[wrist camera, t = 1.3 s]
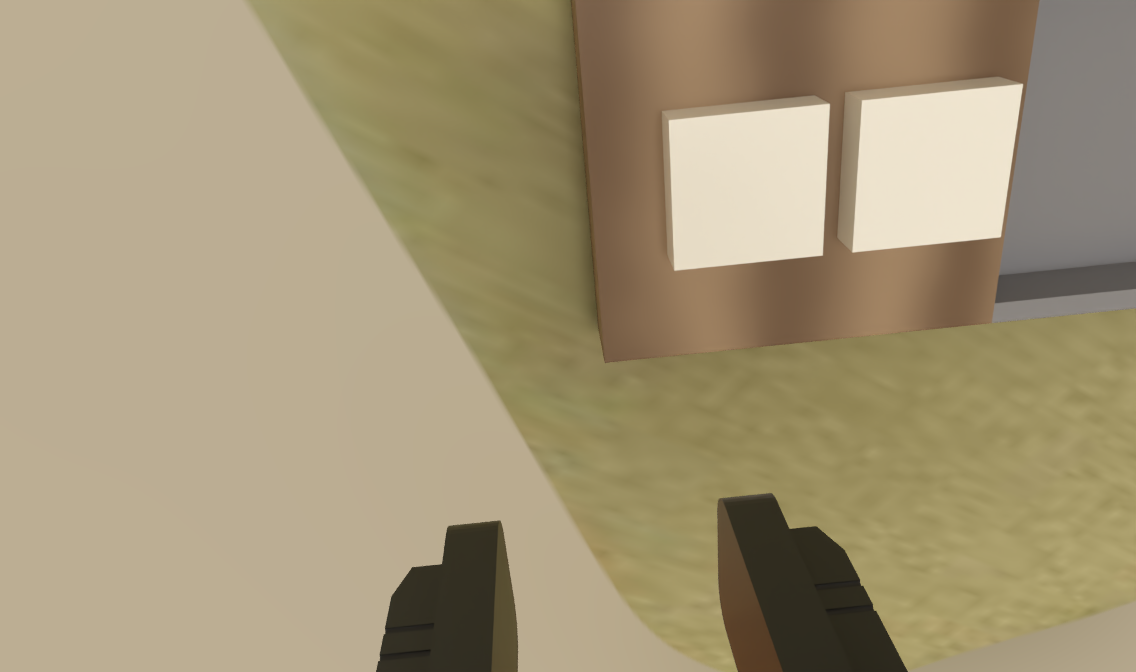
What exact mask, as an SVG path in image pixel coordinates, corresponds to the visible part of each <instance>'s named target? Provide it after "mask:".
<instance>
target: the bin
mask: <svg viewBox="0 0 1136 672" xmlns="http://www.w3.org/2000/svg"><path fill="white" fill-rule="evenodd" d="M1133 308H1136V0H1040V1H1039V8H1038V14H1037V21H1036V28H1035V35H1034V41H1033V48H1032V55H1031V62H1030V68H1029V75H1028V82H1027V89H1026V95H1025V102H1024V109H1023V116H1022V122H1021V129H1020V136H1019V143H1018V149H1017V156H1016V163H1015V170H1014V176H1013V183H1012V190H1011V197H1010V203H1009V210H1008V217H1007V224H1006V230H1005V237H1004V244H1003V251H1002V257H1001V264H1000V271H999V278H998V284H997V291H996V298H995V305H994V311H993V318H992V323H997V322H1006V321H1016V320H1026V319H1036V318H1045V317H1055V316H1065V315H1075V314H1084V313H1094V312H1104V311H1114V310H1123V309H1133Z"/></svg>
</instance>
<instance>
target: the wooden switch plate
mask: <svg viewBox="0 0 1136 672" xmlns="http://www.w3.org/2000/svg"><path fill="white" fill-rule="evenodd" d="M1039 1H1040V0H571V6H572V18H573V30H574V42H575V54H576V66H577V78H578V90H579V101H580V113H581V125H582V137H583V149H584V161H585V173H586V185H587V197H588V209H589V221H590V233H591V245H592V257H593V269H594V281H595V293H596V305H597V317H598V329H599V334H600V340H601V345H602V350H603V356H604V361H605V363H607V362H617V361H627V360H636V359H646V358H656V357H665V356H675V355H685V354H695V353H704V352H714V351H724V350H734V349H743V348H753V347H763V346H773V345H782V344H792V343H802V342H812V341H821V340H831V339H841V338H851V337H860V336H870V335H880V334H889V333H899V332H909V331H919V330H928V329H938V328H948V327H958V326H967V325H977V324H987V323H992V318H993V311H994V305H995V298H996V291H997V284H998V278H999V271H1000V264H1001V257H1002V251H1003V244H1004V237H1005V230H1006V224H1007V217H1008V210H1009V203H1010V197H1011V190H1012V183H1013V176H1014V170H1015V163H1016V156H1017V149H1018V143H1019V136H1020V129H1021V122H1022V116H1023V109H1024V102H1025V95H1026V89H1027V82H1028V75H1029V68H1030V62H1031V55H1032V48H1033V41H1034V35H1035V28H1036V21H1037V14H1038V8H1039ZM989 77H1001V78H1005V79H1008V80H1011V81H1015V82H1018V83H1022V84H1023V88H1022V95H1021V102H1020V109H1019V116H1018V123H1017V129H1016V136H1015V143H1014V150H1013V157H1012V164H1011V171H1010V177H1009V184H1008V191H1007V198H1006V205H1005V212H1004V219H1003V225H1002V232H1001V237H999V238H989V239H980V240H970V241H960V242H950V243H940V244H931V245H921V246H911V247H901V248H892V249H882V250H872V251H862V252H853V253H852V252H851V251H850V250H849V249H848V248H847V247H846V246H845V245H844V244H843V243H842V242H841V241H840V240H839V239H838V238H837V233H838V215H839V197H840V178H841V160H842V142H843V123H844V105H845V92H852V91H862V90H871V89H881V88H891V87H901V86H910V85H920V84H930V83H940V82H950V81H959V80H969V79H979V78H989ZM813 95H815V96H817V97H819V98H820V99H822V100H824V101H826V102H828V103H829V104H830V112H829V133H828V155H827V176H826V197H825V219H824V240H823V256H814V257H804V258H794V259H784V260H775V261H765V262H755V263H745V264H736V265H726V266H716V267H706V268H697V269H687V270H677V271H674V269H673V267H672V264H671V262H670V260H669V258H668V255H667V232H666V208H665V183H664V159H663V135H662V111H666V110H676V109H685V108H695V107H705V106H715V105H725V104H734V103H744V102H754V101H764V100H773V99H783V98H793V97H803V96H813Z"/></svg>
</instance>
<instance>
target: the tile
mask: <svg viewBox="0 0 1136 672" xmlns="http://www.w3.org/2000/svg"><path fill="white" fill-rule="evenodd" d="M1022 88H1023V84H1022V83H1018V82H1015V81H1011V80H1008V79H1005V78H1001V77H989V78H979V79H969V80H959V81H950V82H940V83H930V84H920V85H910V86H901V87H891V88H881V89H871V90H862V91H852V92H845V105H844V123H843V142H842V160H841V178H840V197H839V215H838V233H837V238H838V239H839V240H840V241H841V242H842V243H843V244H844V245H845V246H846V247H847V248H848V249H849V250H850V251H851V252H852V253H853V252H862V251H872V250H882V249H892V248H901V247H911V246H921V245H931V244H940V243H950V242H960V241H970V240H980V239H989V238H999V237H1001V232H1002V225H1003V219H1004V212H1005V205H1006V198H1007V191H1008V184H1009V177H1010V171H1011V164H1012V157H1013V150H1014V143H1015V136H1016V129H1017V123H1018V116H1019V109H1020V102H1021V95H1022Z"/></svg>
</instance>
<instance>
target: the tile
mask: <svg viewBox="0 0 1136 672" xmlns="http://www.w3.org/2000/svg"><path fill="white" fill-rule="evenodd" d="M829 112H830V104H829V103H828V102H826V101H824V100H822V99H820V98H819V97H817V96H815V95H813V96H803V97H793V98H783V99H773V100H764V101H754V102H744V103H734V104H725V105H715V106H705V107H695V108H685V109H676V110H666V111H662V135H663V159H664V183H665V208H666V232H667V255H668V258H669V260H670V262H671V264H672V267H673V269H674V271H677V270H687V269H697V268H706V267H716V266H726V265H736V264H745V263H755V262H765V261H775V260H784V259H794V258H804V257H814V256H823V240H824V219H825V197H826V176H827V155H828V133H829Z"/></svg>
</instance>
